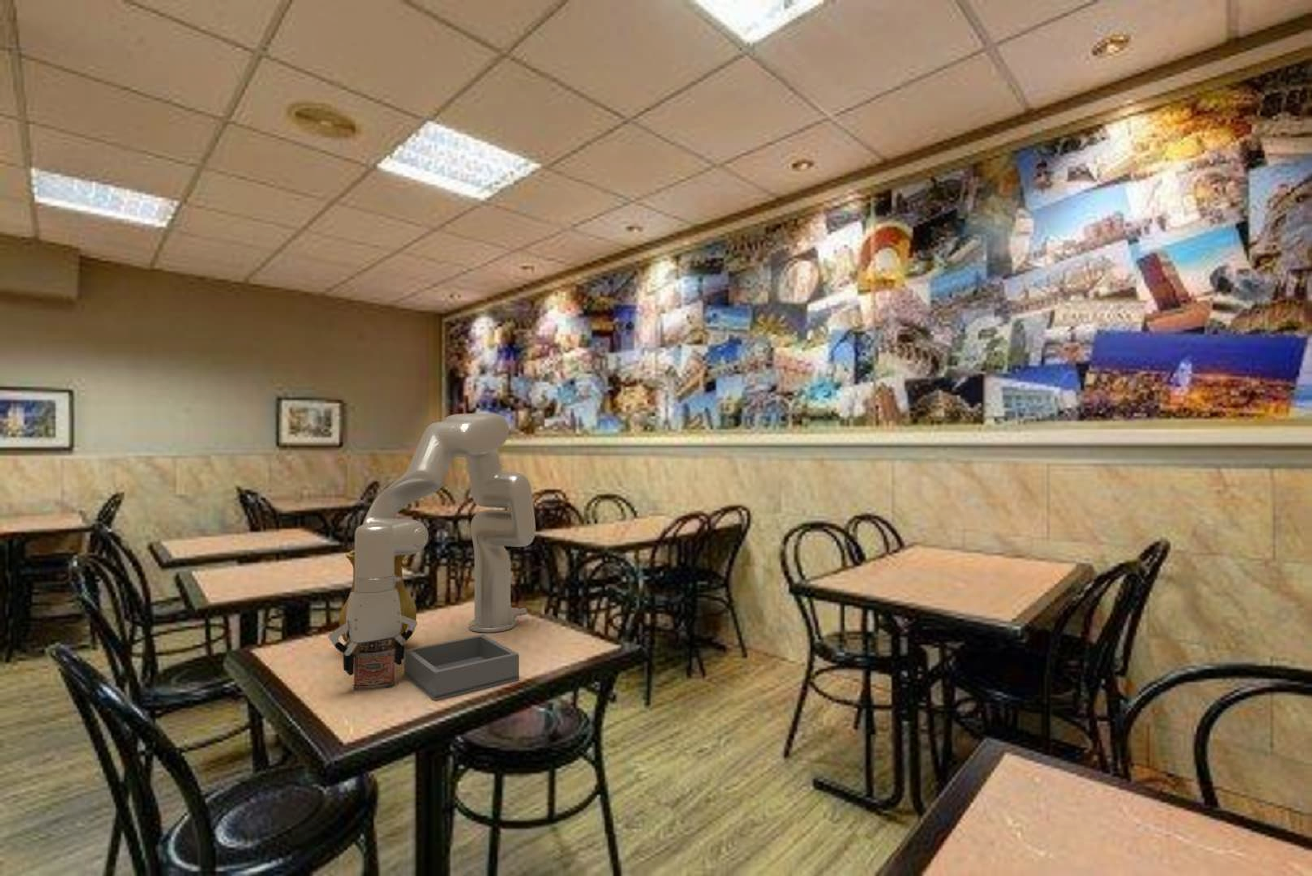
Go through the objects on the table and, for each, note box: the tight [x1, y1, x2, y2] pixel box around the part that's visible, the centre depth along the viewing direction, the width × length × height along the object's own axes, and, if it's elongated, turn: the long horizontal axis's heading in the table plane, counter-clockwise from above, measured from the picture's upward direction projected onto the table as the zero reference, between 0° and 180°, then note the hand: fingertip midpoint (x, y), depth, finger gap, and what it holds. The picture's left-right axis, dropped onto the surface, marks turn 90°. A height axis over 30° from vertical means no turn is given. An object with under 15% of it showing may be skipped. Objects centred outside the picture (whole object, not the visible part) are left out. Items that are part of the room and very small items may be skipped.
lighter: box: [352, 638, 396, 692], centre depth 136 cm, size 8×3×10 cm, turn 105°
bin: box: [403, 634, 520, 702], centre depth 141 cm, size 18×18×6 cm
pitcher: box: [338, 549, 417, 654], centre depth 158 cm, size 17×19×25 cm
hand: (374, 668), depth 135 cm, fingers open, 9 cm apart
